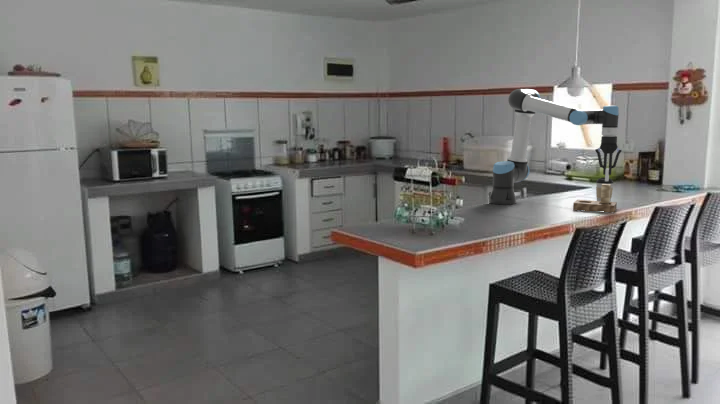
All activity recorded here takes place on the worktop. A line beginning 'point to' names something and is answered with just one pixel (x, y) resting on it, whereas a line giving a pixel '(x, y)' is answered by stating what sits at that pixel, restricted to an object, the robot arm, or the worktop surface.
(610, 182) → the coffee cup
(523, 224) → the worktop surface
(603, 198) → the leg
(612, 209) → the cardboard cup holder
